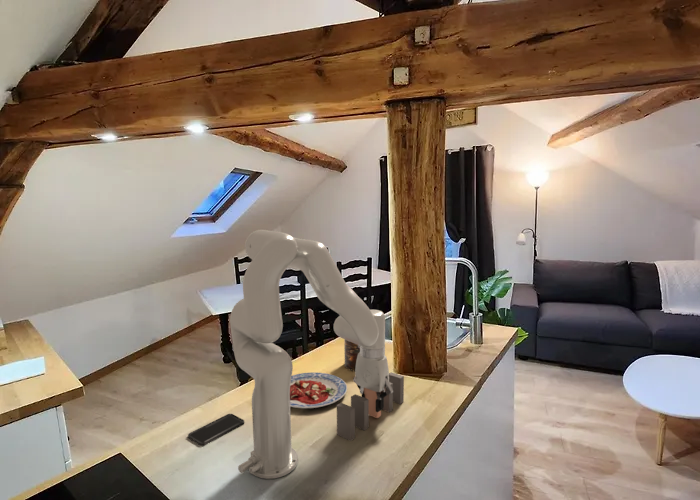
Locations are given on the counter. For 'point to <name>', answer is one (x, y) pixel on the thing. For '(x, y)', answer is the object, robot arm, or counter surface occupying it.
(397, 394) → the domino
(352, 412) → the domino
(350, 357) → the jar
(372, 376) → the robot arm
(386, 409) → the domino
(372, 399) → the terracotta domino
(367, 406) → the domino
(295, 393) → the ceramic plate
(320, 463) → the counter surface
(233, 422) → the phone
